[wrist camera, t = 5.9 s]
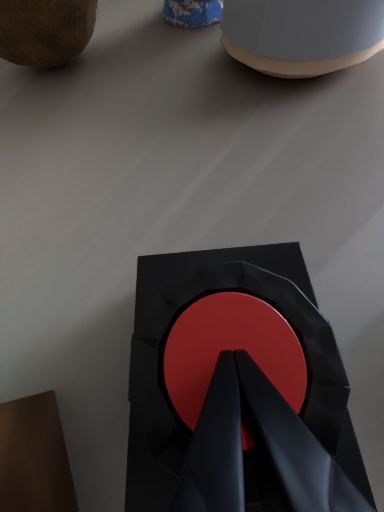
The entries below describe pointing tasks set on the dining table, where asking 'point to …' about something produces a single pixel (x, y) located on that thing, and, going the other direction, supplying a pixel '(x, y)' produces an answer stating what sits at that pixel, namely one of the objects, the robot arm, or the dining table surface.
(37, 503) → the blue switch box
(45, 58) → the bowl
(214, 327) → the light button
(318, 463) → the robot arm
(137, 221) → the dining table surface
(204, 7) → the lantern
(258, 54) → the desk lamp
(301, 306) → the switch box
